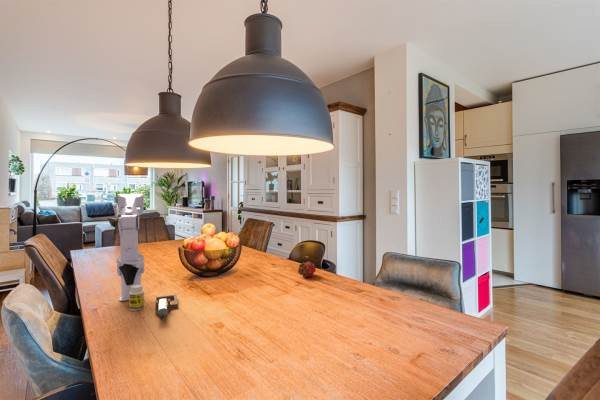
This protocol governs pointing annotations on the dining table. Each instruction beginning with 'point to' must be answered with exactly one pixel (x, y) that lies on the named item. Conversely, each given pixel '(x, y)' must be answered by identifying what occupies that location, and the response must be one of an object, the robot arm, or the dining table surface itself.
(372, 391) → the dining table surface
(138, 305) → the supplement bottle
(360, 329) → the dining table surface
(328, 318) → the dining table surface
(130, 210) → the robot arm
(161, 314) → the lock pin
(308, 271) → the dragon fruit
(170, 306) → the mount
